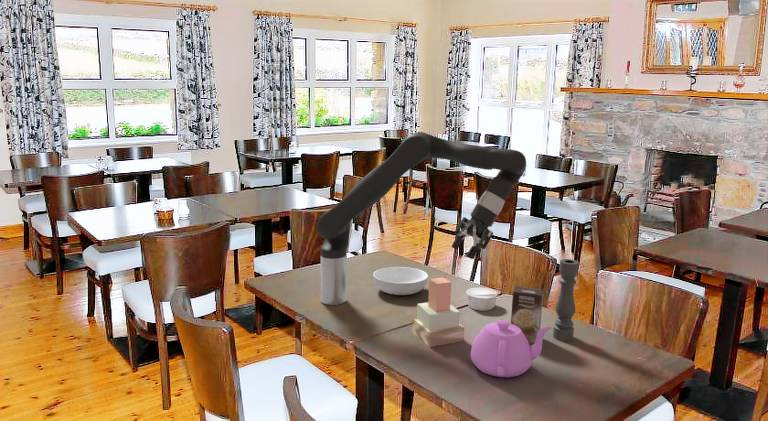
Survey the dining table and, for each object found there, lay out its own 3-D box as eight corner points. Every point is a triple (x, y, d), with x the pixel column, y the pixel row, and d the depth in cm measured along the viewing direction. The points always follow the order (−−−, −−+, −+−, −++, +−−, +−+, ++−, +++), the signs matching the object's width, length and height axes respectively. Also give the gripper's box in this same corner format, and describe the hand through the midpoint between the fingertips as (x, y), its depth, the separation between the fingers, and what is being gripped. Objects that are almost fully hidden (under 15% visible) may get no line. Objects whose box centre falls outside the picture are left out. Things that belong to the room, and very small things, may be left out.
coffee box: (508, 340, 195) (511, 291, 192) (511, 332, 201) (514, 285, 198) (538, 344, 193) (542, 295, 189) (540, 336, 198) (544, 288, 195)
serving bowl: (437, 289, 241) (437, 272, 239) (409, 305, 224) (410, 287, 222) (391, 279, 252) (391, 262, 250) (362, 293, 234) (362, 276, 233)
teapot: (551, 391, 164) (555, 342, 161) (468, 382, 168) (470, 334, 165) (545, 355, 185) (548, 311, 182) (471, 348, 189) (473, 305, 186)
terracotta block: (428, 306, 196) (429, 279, 194) (442, 304, 198) (443, 277, 196) (435, 311, 192) (437, 283, 190) (449, 309, 194) (451, 282, 192)
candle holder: (562, 342, 194) (569, 265, 189) (548, 335, 200) (554, 260, 194) (577, 339, 197) (584, 263, 192) (563, 331, 203) (569, 257, 197)
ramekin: (483, 314, 216) (483, 300, 215) (458, 305, 224) (459, 291, 223) (503, 307, 223) (504, 293, 222) (479, 298, 232) (479, 285, 230)
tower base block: (412, 333, 200) (412, 318, 199) (444, 327, 205) (445, 313, 204) (429, 348, 190) (430, 332, 189) (463, 342, 194) (464, 327, 193)
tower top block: (416, 318, 200) (417, 303, 198) (445, 314, 203) (446, 300, 202) (429, 330, 190) (429, 315, 189) (458, 326, 194) (459, 311, 192)
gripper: (467, 197, 200) (441, 241, 200) (493, 209, 188) (466, 256, 188) (482, 207, 204) (457, 250, 204) (509, 220, 192) (482, 265, 192)
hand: (461, 253), depth 196 cm, fingers open, 8 cm apart
